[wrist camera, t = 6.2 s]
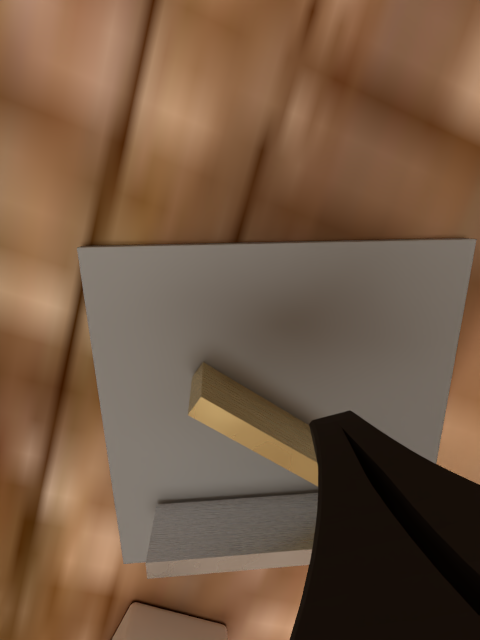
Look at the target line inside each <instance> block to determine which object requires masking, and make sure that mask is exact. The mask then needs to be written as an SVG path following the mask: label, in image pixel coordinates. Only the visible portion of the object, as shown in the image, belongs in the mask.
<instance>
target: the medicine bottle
mask: <svg viewBox="0 0 480 640" xmlns="http://www.w3.org/2000/svg"><path fill="white" fill-rule="evenodd" d="M112 640H227V629H226V626H224V625H223V624H219V623H215V622H211V621H207V620H204V619H200V618H196V617H192V616H188V615H184V614H180V613H176V612H173V611H169V610H165V609H161V608H157V607H153V606H149V605H145V604H142V603H138V602H134V603H132V604H131V605H130V607H129V609H128V611H127V612H126V614H125V616H124V618H123V620H122V622H121V623H120V625H119V627H118V629H117V631H116V633H115V634H114V636H113V638H112Z"/></svg>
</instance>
